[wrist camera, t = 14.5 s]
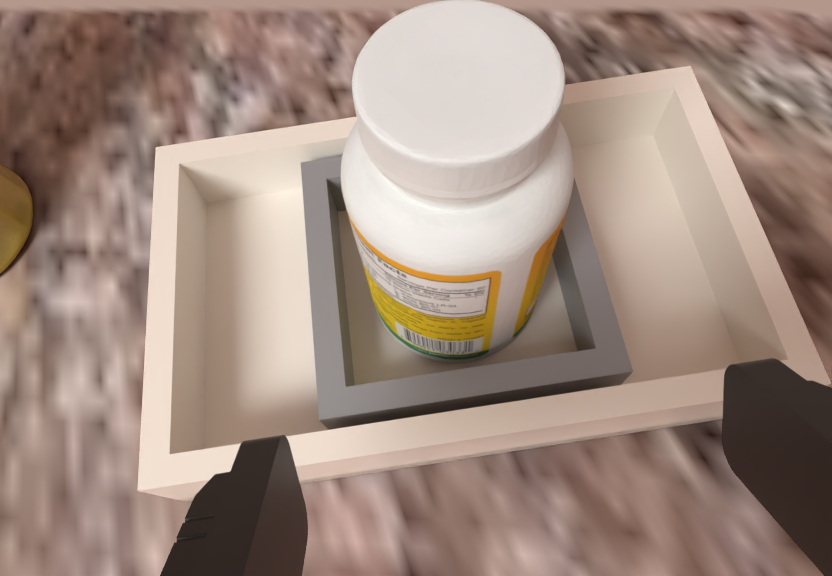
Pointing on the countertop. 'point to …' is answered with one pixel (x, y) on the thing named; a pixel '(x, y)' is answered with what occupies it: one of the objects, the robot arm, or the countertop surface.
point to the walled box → (437, 381)
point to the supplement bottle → (457, 174)
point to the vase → (13, 216)
